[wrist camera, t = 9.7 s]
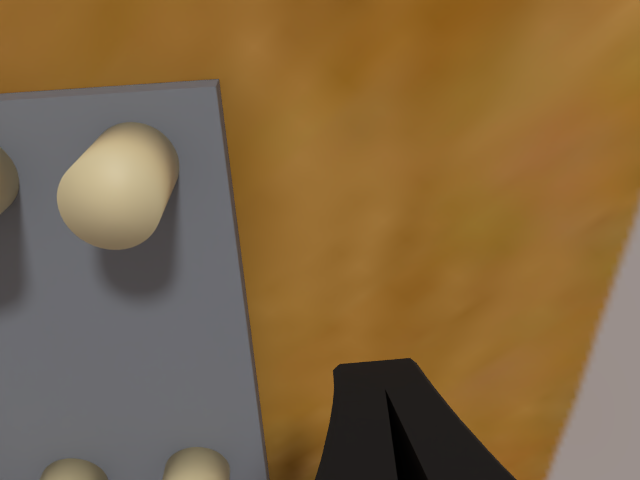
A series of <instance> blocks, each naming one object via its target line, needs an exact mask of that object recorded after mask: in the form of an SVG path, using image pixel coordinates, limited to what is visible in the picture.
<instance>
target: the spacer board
mask: <svg viewBox="0 0 640 480" xmlns="http://www.w3.org/2000/svg"><path fill="white" fill-rule="evenodd" d="M0 480H270V479H269V471H268V463H267V455H266V447H265V439H264V432H263V424H262V416H261V408H260V400H259V392H258V384H257V376H256V368H255V360H254V353H253V345H252V337H251V329H250V321H249V313H248V305H247V297H246V289H245V281H244V274H243V266H242V258H241V250H240V242H239V234H238V226H237V218H236V210H235V202H234V195H233V187H232V179H231V171H230V163H229V155H228V147H227V139H226V131H225V123H224V116H223V108H222V100H221V92H220V84H219V79H213V80H198V81H184V82H169V83H154V84H139V85H124V86H109V87H94V88H79V89H64V90H50V91H35V92H20V93H5V94H0Z"/></svg>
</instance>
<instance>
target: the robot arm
mask: <svg viewBox="0 0 640 480" xmlns="http://www.w3.org/2000/svg"><path fill="white" fill-rule="evenodd" d="M333 376H334V397H333V405H332V412H331V418H330V424H329V428H328V432H327V437H326V441H325V445H324V449H323V454H322V458H321V462H320V465H319V468H318V472H317V475H316V478H315V480H516V479H515V478H514V477H513V476H512V475H511V474H510V473H509V472H508V471H507V470H506V469H505V468H504V467H503V466H502V465H501V464H500V462H499V461H498V460H497V459H496V458H495V457H494V456H493V455H492V454H491V453H490V452H489V451H488V450H487V449H486V448H485V446H484V445H483V444H482V443H481V442H480V441H479V440H478V439H477V438H476V436H475V435H474V434H473V433H472V432H471V431H470V430H469V429H468V428H467V426H466V425H465V424H464V423H463V422H462V421H461V420H460V418H459V417H458V416H457V415H456V414H455V412H454V411H453V410H452V409H451V408H450V406H449V405H448V404H447V403H446V401H445V400H444V399H443V398H442V397H441V395H440V394H439V393H438V392H437V390H436V389H435V388H434V386H433V385H432V384H431V382H430V381H429V380H428V379H427V377H426V376H425V374H424V373H423V372H422V370H421V369H420V368H419V366H418V365H417V363H416V362H414V361H413V360H412V359H411V358H406V359H394V360H383V361H371V362H359V363H348V364H339V365H338V366H337V367H336V368H335V369H334V370H333Z"/></svg>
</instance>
